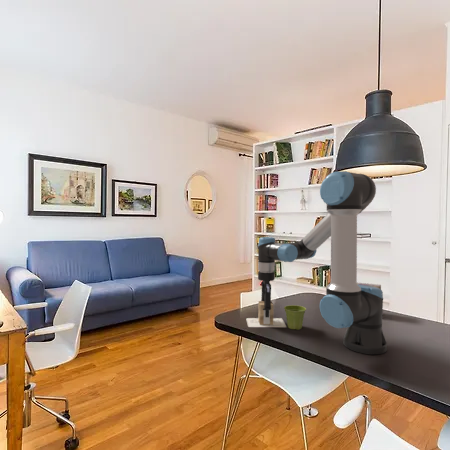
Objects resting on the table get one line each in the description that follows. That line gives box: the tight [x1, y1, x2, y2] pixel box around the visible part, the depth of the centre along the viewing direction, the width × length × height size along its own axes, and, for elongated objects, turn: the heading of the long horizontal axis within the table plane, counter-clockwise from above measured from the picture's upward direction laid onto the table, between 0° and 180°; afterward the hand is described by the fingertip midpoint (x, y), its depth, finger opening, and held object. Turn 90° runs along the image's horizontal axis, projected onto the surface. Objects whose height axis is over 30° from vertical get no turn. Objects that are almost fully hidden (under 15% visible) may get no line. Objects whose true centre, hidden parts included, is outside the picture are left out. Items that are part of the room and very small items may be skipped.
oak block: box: [257, 300, 274, 325], centre depth 149 cm, size 6×6×9 cm
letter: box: [246, 317, 287, 328], centre depth 149 cm, size 12×17×1 cm
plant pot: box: [283, 304, 307, 330], centre depth 143 cm, size 9×9×9 cm
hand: (265, 321), depth 149 cm, fingers closed on oak block, 6 cm apart
